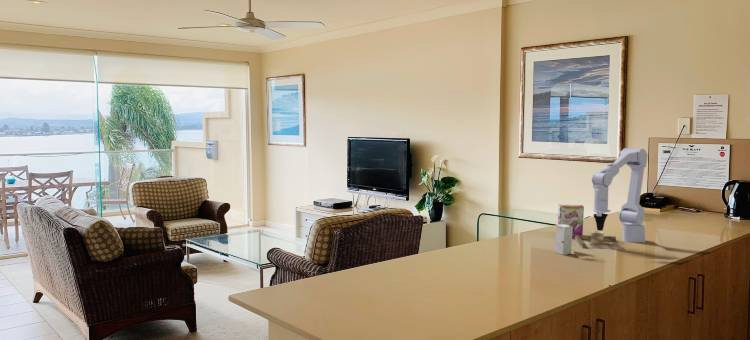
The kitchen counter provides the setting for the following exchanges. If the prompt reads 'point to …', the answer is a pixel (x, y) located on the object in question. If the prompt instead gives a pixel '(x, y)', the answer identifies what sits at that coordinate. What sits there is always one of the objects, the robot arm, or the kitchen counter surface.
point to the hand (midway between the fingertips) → (600, 230)
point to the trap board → (586, 240)
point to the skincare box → (563, 239)
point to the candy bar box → (571, 217)
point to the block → (597, 237)
